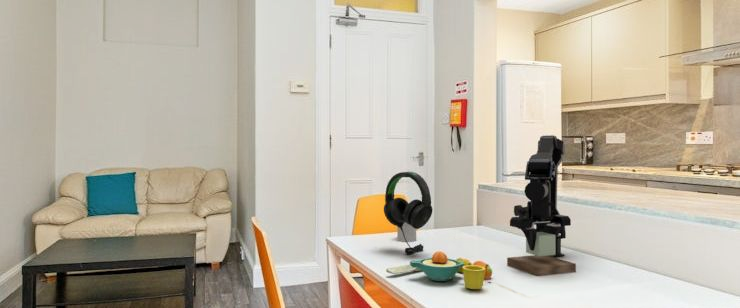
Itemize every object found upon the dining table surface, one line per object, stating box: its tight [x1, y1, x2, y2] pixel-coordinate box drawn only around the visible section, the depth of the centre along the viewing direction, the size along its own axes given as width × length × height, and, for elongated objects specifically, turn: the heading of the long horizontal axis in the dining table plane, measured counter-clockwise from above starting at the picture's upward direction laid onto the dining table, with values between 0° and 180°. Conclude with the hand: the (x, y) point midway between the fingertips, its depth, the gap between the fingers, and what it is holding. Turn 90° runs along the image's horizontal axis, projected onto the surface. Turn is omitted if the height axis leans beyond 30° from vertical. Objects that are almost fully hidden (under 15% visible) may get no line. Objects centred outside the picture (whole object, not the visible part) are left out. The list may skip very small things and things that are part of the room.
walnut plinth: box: [506, 254, 577, 277], centre depth 146 cm, size 14×14×2 cm
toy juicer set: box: [385, 251, 493, 290], centre depth 138 cm, size 29×18×8 cm, turn 57°
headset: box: [383, 171, 433, 256], centre depth 167 cm, size 18×14×29 cm
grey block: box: [396, 222, 417, 243], centre depth 190 cm, size 8×8×12 cm
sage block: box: [525, 232, 555, 256], centre depth 146 cm, size 6×6×6 cm
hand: (540, 249), depth 146 cm, fingers closed on sage block, 6 cm apart
